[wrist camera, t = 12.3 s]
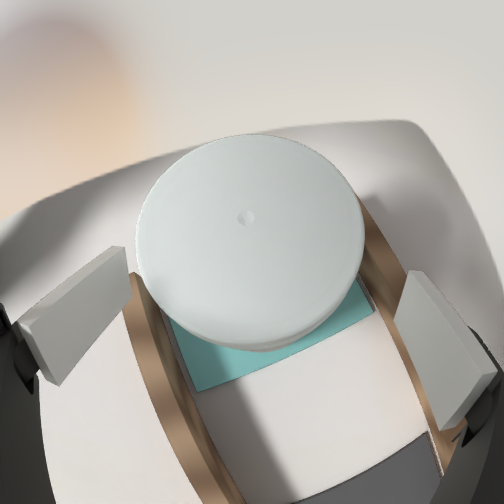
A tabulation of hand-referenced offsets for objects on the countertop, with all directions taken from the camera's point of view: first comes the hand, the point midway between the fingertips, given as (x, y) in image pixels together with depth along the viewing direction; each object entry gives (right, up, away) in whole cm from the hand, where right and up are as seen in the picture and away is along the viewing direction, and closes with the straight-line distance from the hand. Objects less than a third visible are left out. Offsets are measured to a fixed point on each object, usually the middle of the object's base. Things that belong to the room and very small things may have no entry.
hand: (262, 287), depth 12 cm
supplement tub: (0, -3, +12) cm, 13 cm away
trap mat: (+10, -24, +3) cm, 26 cm away
